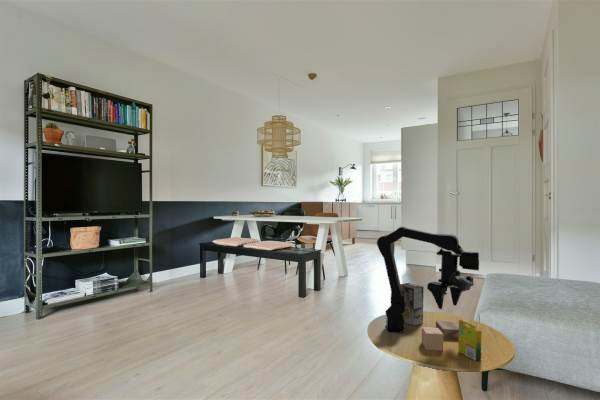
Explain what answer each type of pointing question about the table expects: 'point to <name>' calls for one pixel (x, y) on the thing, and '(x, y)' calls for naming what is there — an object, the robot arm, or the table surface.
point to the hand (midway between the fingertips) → (447, 307)
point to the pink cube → (432, 338)
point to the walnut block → (448, 329)
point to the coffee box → (413, 304)
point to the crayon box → (469, 341)
